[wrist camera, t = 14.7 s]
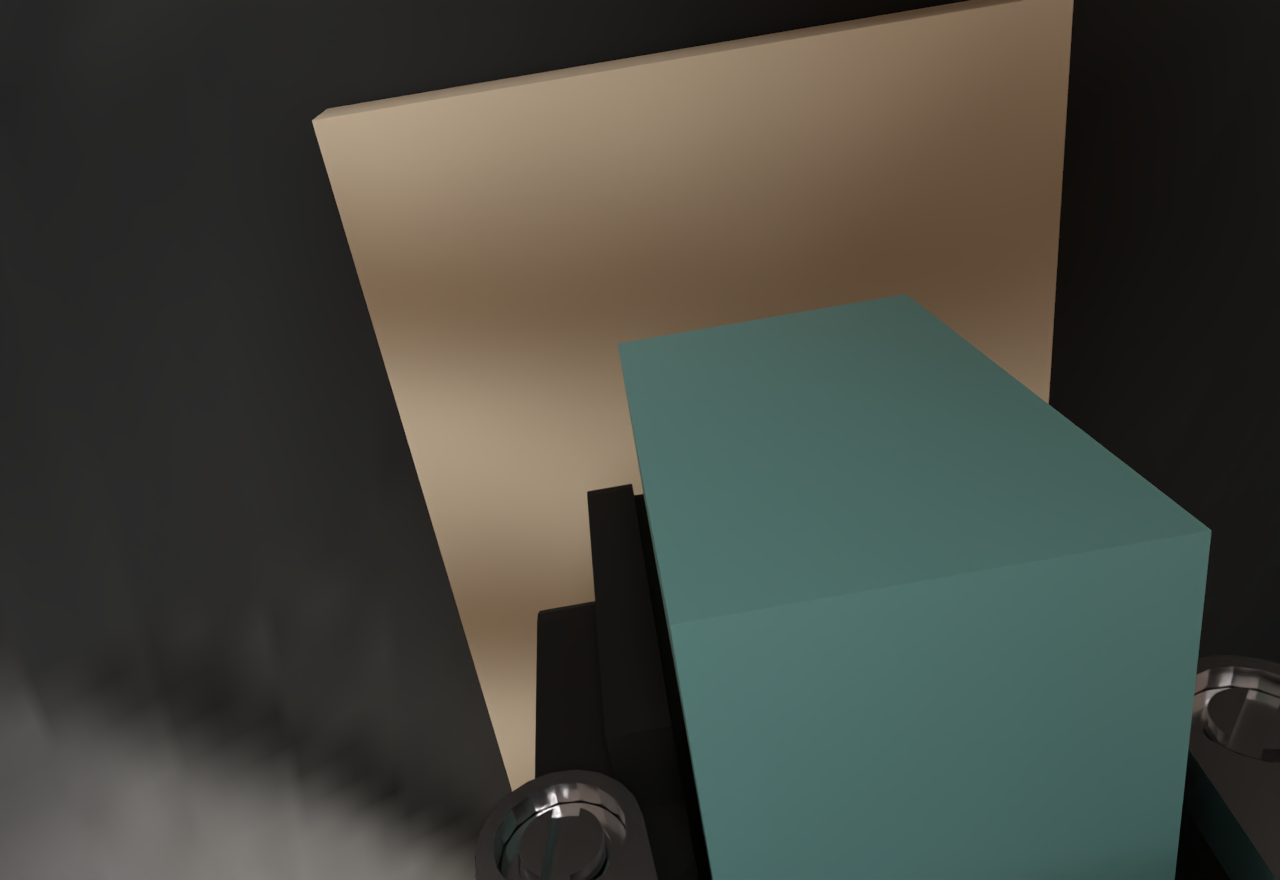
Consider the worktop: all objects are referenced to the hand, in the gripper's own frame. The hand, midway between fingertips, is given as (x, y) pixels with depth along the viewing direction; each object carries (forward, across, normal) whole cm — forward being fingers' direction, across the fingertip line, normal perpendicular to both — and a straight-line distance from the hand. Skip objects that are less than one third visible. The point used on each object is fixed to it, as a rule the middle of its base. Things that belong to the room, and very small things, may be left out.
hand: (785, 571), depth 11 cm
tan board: (+5, 0, +4) cm, 6 cm away
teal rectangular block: (0, 0, +4) cm, 4 cm away
